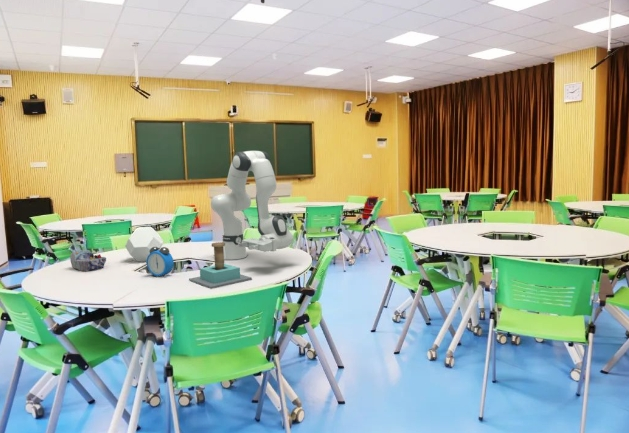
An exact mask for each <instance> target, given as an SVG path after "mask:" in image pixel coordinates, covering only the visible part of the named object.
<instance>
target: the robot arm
mask: <svg viewBox="0 0 629 433" xmlns="http://www.w3.org/2000/svg"><path fill="white" fill-rule="evenodd" d="M270 160H271V159H270V155H269V154H268V152H266V151H263V150H246V151H237V152H235V153H234V155H233V156H232V161H231V163H230V167H229V170H228V173H227V174H228V175H227V179H226V186H227V187H228V189H230V190H231V193H221V194H217V195H214V196H212V198H211V200H210V206H211V209H212V210H213V211H214V212H215V213H216V214H218V216H219V218H220V219H221V222H222V228H223V235H222V241H221V242H224V243H225V246H223V252H224V261H225V260H226V261H227V260H228V261H231V260H239V259H244V258H246V257H247V256H249V253H247V249H248V250H256V251H260V252H277V250H282V249H286V248H288V247H290V246H291V245H292V244H293V243H294V235H293V233H292V232H291V231H290V230H289V229H288V226H287V222H286V219H285V218H284V217H283V216H282V215H280V214H279V215H278V214H277V215H273V216H271V217H270V212H269V206H268V205H269V200H270V199H271V196H272V195H274V193H275V191H276V189H277V179H276V175H275V171H274V169H273V166H272V163H271V161H270ZM249 172H252V173H253V176H254V182H255V190H256V193H255V194H256V195H255V204H256V211H257V219H258V221H257V231H258V233H259V235H260V237H259V238H253V237H252V238H244V233H243V222H242V220H241V219H240V218H238V217H236V216H235V213H234V212H242V211H245V210H247V209H249V208H250V207H251V204H252V199H251V196H250V195H249V194H248V193H247V191H246V185H247V181H248V177H249V176H248V175H249ZM246 248H247V249H246Z"/></svg>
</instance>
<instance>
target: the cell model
mask: <svg viewBox="0 0 629 433" xmlns="http://www.w3.org/2000/svg"><path fill="white" fill-rule="evenodd" d="M69 258H70V259H69V260H70V263H71V267H72V269H77V270H78V271H81V272H88V271H97V270H99V269H103V268H104V267H105V264H106V262H107V257H105V256H101V254H96V255H95V254H93V253H92V252H91V250H89V249H85V250H84V249H83V250H81V249H80V250H79V249H78V250H77V249H76V250H73V251H72V252H71V253H70V256H69Z"/></svg>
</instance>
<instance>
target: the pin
mask: <svg viewBox="0 0 629 433" xmlns="http://www.w3.org/2000/svg"><path fill="white" fill-rule="evenodd" d="M223 246H225V243H224V242H222V241H219V242H218V241H217V242H212V243H211V247H212V248H213V253H214V254H213V257H214V266H215V270H221V269H224V264H225V260H224V252H223Z"/></svg>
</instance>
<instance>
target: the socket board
mask: <svg viewBox="0 0 629 433" xmlns="http://www.w3.org/2000/svg"><path fill="white" fill-rule="evenodd" d="M251 280H253V278H252V277H250V276H247V275H245V274H241V268H240V267H239V266H236V265H231V264H227V263H224V269H221V270H215V265H210V266H206V267H200V268H199V276H197V277H196V276H195V277H192V278H189V279H188V281H189V282H192V283H194V284H197V285H200V286H202V287H205V288H207V289H210V290H212V289H217V288H221V287H225V286H229V285H230V286H231V285H234V284H238V283H243V282H248V281H251Z"/></svg>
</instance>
